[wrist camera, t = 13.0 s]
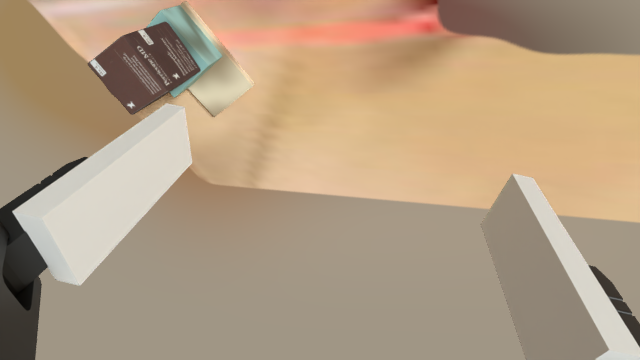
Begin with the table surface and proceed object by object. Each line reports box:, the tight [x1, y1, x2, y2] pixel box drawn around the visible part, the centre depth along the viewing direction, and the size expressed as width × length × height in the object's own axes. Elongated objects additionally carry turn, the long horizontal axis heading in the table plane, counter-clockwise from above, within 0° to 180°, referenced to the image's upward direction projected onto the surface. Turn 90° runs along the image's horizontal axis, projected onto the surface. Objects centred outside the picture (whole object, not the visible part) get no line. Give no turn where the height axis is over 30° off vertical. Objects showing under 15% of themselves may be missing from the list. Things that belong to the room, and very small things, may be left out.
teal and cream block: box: [146, 1, 255, 117], centre depth 40 cm, size 12×8×5 cm, turn 37°
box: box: [88, 22, 201, 114], centre depth 34 cm, size 6×6×7 cm
